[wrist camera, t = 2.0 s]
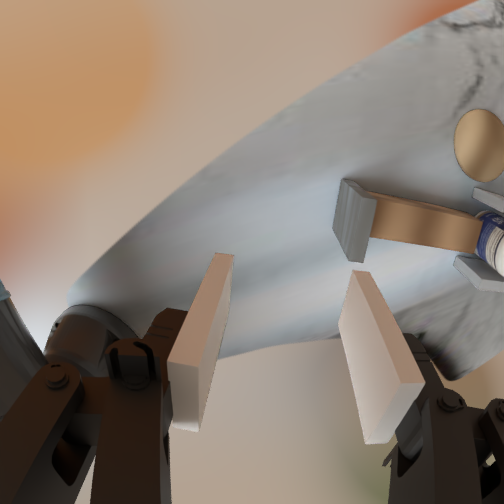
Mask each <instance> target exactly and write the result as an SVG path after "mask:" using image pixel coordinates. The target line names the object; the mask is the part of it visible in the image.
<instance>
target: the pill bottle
mask: <svg viewBox="0 0 504 504" xmlns="http://www.w3.org/2000/svg"><path fill="white" fill-rule="evenodd" d="M475 218H477V219H479V220H480V221H482V222H483V224H482V228H481V231H480V235H479V238H478V242H477V245H476V248H475V252H474V253H475V254H476V255H478V256H479V257H480V258H482V259H483V260H484V261H485V262H487V263H488V264H489V265H490V266H491V267H492V268H494V269H495V270H496V271H497V272H498V273H499V274H501V275H502V276H503V277H504V217H502V216H500V215H498V214H496V213H494V212H492V211H488V210H487V211H486V210H485V211H481V212H480V213H478V214H477V215H476V216H475Z"/></svg>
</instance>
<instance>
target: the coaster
mask: <svg viewBox="0 0 504 504" xmlns="http://www.w3.org/2000/svg"><path fill="white" fill-rule="evenodd" d="M454 150H455V155H456V158H457V161H458V163H459V165H460V167H461V169H462V170H463V171H464V172H465V174H466V175H468V176H469V177H470V178H472V179H474V180H477V181H480V182H489V181H492V180H494V179H496V178H497V177H498V176H499V175H500V174H501V173H502V172H503V170H504V126H503V124H502V123H501V121H500V120H499V119H498V118H497V117H496V116H495V115H494V114H493V113H491V112H489V111H487V110H482V109H476V110H471V111H469V112H467V113H466V114H465V115H463V116H462V118H461V119H460V121H459V122H458V124H457V127H456V130H455V134H454Z"/></svg>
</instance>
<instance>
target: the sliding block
mask: <svg viewBox="0 0 504 504" xmlns="http://www.w3.org/2000/svg"><path fill="white" fill-rule="evenodd" d="M482 224H483V222H482V221H480V220H479V219H477V218H475V217H474V216H472V215H470V214H468V213H467V212H463V211H459V210H455V209H450V208H446V207H442V206H438V205H433V204H429V203H424V202H419V201H415V200H410V199H405V198H400V197H395V196H390V195H385V194H380V193H374V192H369V191H365V190H364V189H363V188H362V187H360V186H359V185H358V184H356V183H355V182H354V181H351V180H345V179H341V183H340V189H339V195H338V200H337V206H336V211H335V217H334V222H333V227H332V229H333V231H334V233H335V235H336V237H337V239H338V241H339V243H340V245H341V247H342V249H343V251H344V253H345V255H346V257H347V259H348V261H351V262H359V263H363V261H364V257H365V253H366V249H367V245H368V241H369V237H373V238H380V239H386V240H393V241H399V242H405V243H412V244H418V245H424V246H430V247H436V248H442V249H448V250H453V251H459V252H465V253H471V254H474V252H475V248H476V245H477V242H478V238H479V235H480V231H481V228H482Z"/></svg>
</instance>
